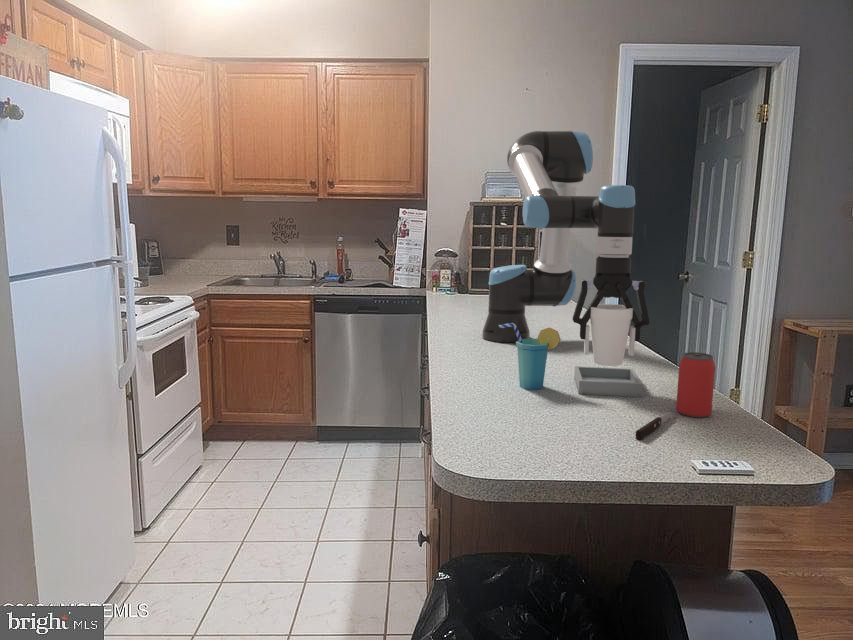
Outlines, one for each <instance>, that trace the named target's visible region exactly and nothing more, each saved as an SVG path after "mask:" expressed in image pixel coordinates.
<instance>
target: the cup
mask: <svg viewBox="0 0 853 640" xmlns="http://www.w3.org/2000/svg"><path fill="white" fill-rule="evenodd" d="M507 327H513V328H514V330H515V332H516V335H517V338H518V341H517V342H515V346H516V348H517V363H518V380H519V381H518V383H519V388H522V389H523V390H528V391H529V390H530V391H531V390H532V391H534V390H535V391H537V390H541V389H542V388H543V387H544V382H545V374H546V367H547V366H546V365H547V358H548V351H549V350H552V349H556V348H558V346H559V344H560V342H561V340H562V339H561V337H560V333H559V331H558V330H557V329H554V328H552V327H550V326H549V327H546V328H543V329H541V330H540V332H539V334H538V336H537V338H531V337H530V339H521V336H520V333H519V330H518V327H517V326H516V325H515V324H514V323H508V324H503V325H499V329H500V328H507Z"/></svg>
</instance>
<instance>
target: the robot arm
mask: <svg viewBox="0 0 853 640" xmlns="http://www.w3.org/2000/svg"><path fill="white" fill-rule="evenodd" d="M506 156H507V157H506V159H507V160H506V163H507V165H508V169H509V171H510V173H511V174H512V175H513V176H514V177H516V178H517V181H518V184H519V186H520V188H521V190H522V192H523V195H524V197H525V198H524V200H523V204H522V214H521V215H522V221H523V225H524V226H525V227H527V228H533V229H534V228H535V229H540V230H541V229H542V232H541V233H542V234H541V242H540V250H539V258H538V259H537V260H536V261H534V263H533V269H528V268H527V265H525V264H511V265H504V266H503V265H502V266H499V267H494V268H493V269H492V270H490V272H489V277H488V278H489V279H488V314H487V317H486V319H485V323H484V326H483V329H482V337H481V338H482V339H484V340H486V341H490V342H497V343H516V342H517V341H518V338H517V335H516V332H515V330H514V328H513V327H507V328H500V329H499V325H503V324H508V323H514V324H515V325H516V326H517V327H518V330H519V333H520V336H521V339H530V338H531V337H530V335H531V333H530V328H529V325H528V321H527V318H526V307H558V306H559V307H560V306H561V307H562V306H566V305H569V304H570V302H571V301H572V299H573V297H574V294H575V291H576V285H577V283H576V281H577V276H576V272H575V270H573V269H572V265H571V263H570V262H569V261H568V260H569V259H568V258H569V251H570V243H571V235H572V229H594V230H595V229H597V237H596V238H597V241H596V254H597V255H598V256H597V257H596V259H595V260H596V262H595V276H594V278H592V279H582V280H581V281H580V293H579V296H578V299H577V302H576V305H575V310H574V312H573V314H572V321H573V323H574V324H578V325H579V338H580V340H584V344H583V353H584V355H589V347H590V343H589V342H590V331H591V325H590V324H588V322H589V320H590V318H591V307H595V308H597V306H598V304H601V301H603V299H604V298H605V299H606V298H607V299H609V298H615V299H621V301H622V304H623V305H625V307H626V309H629V308H633V317H632V319H631V323H632V324H633V325H630V328H629V337H628V338H629V339H628V341H629V342H628V356H630V357H634V356H635V345H636V344H635V342H639V341H640V338H641V328H642V327H644V326H648V325H650V317H649V312H648V309H647V302H646V297H645V287H646V286H645V285H646V282H644V281H643V280H633V279H632V277H631V276H632V275H631V270H632V258H631V257H630V256H631V255H632V253H633V252H632V251H633V235H634V234H633V233H634V219H635V207H636V191H635V188H634V186H632V185H629V184H628V185H626V184H620V185H618V184H616V185H615V184H614V185H613V184H611V185H603V186H601V188H600V190H599V194H598V195H585V196H583V195H577V188H578V186H579V185H580V184H581V183H582V182H584V175H587V174H590V172H591V171H592V168H593V164H594V163H593V161H594V151H593V144H592V142H591V139H590V136H589V135H588V134H587V133H586V132H585V131H584V132H582V131H573V130H553V131H550V130H548V131H547V130H546V131H542V130H535V131H531V132H528V133H525V134H523V135H521V136H520V137H518V138H517V139H515V141H514V142H512V145H511V146H510V148H509V150H508V153H507V155H506ZM593 285H594V287H595V288H596V289H597V291H596V294H595V295H594V297H593V299H592V301H591V302H590V304H589V306H588V308H587V309H586V310H585V312H584V314H583V316H582V317H581V314H582V311H583V307H584V306H585V305H584V304H585V301H586V299H587V294H588V290H590V289H591V288H592V286H593ZM632 286H633V290H634V291H636V298H637V304H638V308H639V313H640V318H641V319H639V317H638V316H637V313H636V312H635V309H634V307H633V304H632V303H631V301H630V298H629V295H628V294H627V292H628V290H629V289H630V288H631V287H632Z"/></svg>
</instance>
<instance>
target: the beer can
mask: <svg viewBox="0 0 853 640" xmlns="http://www.w3.org/2000/svg"><path fill="white" fill-rule="evenodd" d="M678 365H679V366H678V378H677V391H676V404H675V405H676V406H675V409H676V411H677V412H678V413H679V414H680V415H682V416H685V417H690V418H691V417H692V418H708V417H709V416H710V415H711V414H712V412H713V410H712V408H713V398H714V387H715V376H716V364H715V361H714V356H713V354H708V353H704V352H696V351H695V352H694V351H692V352H690V351H689V352H688V351H687V352H684V353H682V358H681V360H680V362H679V364H678Z"/></svg>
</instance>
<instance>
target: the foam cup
mask: <svg viewBox="0 0 853 640" xmlns="http://www.w3.org/2000/svg"><path fill="white" fill-rule="evenodd" d="M633 309H634V307H633V308H629V309H626V307H625V305H624V304H615V303H614V304H613V303H610V304H609V303H599V304H598V306H597V308H595V307H591V318H590V319H589V320H590V332H591V343H592V352H593V353H592V357H593V363H594V364H596V365H599V366H605V367H617V366H619V367H620V366H621V365H623V362H624V357H625V353H626V347H627V343H628V340H629V339H628V338H629V337H628V336H629V334H630V326H631V323H632V320H631V319H632V317H633Z"/></svg>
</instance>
